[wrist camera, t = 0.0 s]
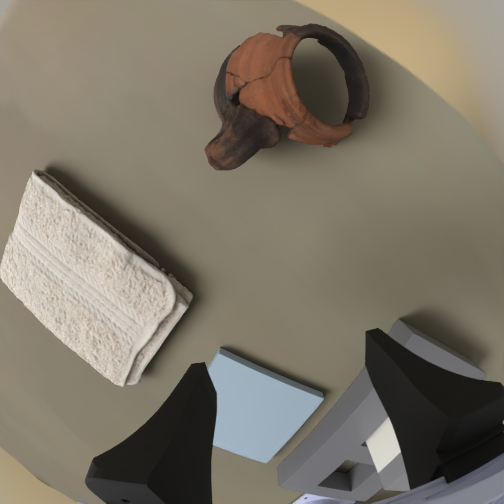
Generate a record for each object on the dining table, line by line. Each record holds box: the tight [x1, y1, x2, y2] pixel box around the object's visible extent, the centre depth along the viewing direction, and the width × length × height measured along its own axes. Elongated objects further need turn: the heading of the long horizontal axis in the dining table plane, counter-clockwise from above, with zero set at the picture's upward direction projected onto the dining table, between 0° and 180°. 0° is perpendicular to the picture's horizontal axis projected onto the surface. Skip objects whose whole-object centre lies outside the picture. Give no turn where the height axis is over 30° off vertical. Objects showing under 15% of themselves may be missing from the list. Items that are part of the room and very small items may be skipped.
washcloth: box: [0, 169, 193, 387], centre depth 22 cm, size 12×18×3 cm, turn 55°
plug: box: [366, 417, 410, 491], centre depth 21 cm, size 4×4×9 cm
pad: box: [207, 348, 324, 463], centre depth 25 cm, size 10×10×1 cm
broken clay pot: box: [205, 23, 369, 170], centre depth 18 cm, size 12×10×8 cm
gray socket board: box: [278, 319, 486, 501], centre depth 24 cm, size 20×12×3 cm, turn 151°
